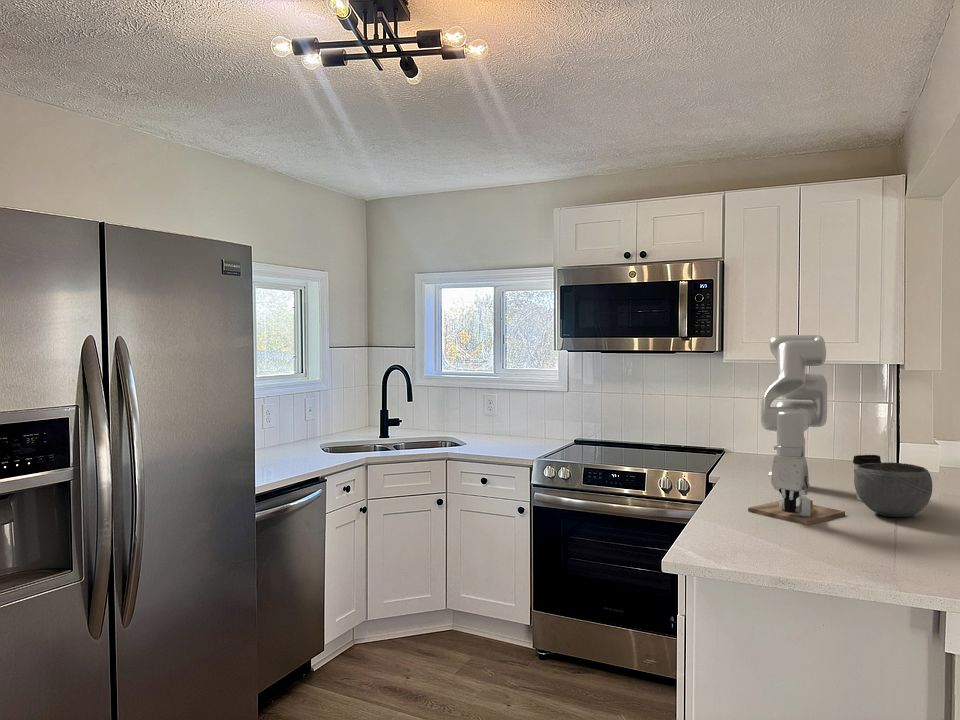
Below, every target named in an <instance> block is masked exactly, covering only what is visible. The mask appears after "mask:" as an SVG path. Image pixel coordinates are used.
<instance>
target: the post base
mask: <svg viewBox="0 0 960 720" xmlns="http://www.w3.org/2000/svg"><path fill="white" fill-rule="evenodd" d="M800 491H801V490H800ZM748 511H750V512H749V513H753V512H754V513H753V514H757V513H758V515H761V514H762V516H766V517H771V518H774V519H779V520H784V521H788V522H791V523H796V524H800V525H804V526H805V525H806V526H808V525H811V524H816V523H820V522H825V521H829V520H832V519H835V518H839V517H840V518H841V517H843V516H846V511H844V510H840V509H835V508H830V507H827V506H826V507H825V506H820V505H816V504H814V500H812V499H810V516H801V515H799V514H798V513H797V512H791V513H788V512H785V510H783V509H781V508H780V507H779V500H777V501H776V500H775V501H772V502H768V503H767V502H766V503H763V504H758V505H754V506H750V507H747V512H748Z"/></svg>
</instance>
